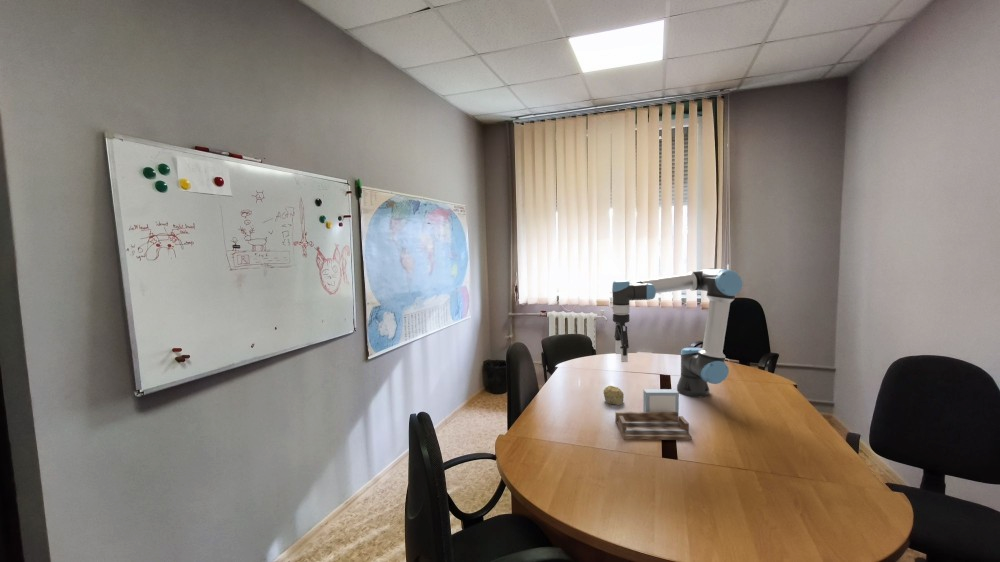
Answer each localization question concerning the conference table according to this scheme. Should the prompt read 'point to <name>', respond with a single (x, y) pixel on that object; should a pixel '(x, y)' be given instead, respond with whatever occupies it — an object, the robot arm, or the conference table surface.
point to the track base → (652, 425)
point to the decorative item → (613, 395)
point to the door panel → (661, 400)
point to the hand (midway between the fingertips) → (621, 357)
